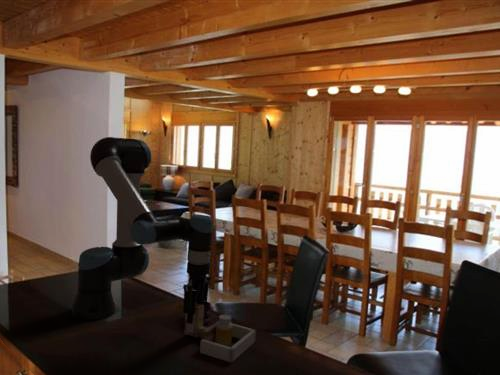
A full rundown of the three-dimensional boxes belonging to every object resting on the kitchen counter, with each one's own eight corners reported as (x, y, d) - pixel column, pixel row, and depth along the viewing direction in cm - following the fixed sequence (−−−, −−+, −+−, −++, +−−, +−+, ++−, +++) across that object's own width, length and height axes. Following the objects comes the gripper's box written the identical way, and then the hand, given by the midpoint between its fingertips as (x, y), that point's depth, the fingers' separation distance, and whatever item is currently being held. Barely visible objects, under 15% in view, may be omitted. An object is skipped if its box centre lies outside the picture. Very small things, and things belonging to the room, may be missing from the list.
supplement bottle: (212, 342, 143) (214, 314, 142) (227, 340, 146) (229, 313, 145) (217, 349, 138) (220, 320, 138) (233, 347, 141) (235, 319, 140)
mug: (201, 327, 155) (202, 308, 154) (180, 319, 160) (182, 301, 160) (213, 322, 160) (214, 304, 160) (193, 314, 166) (194, 297, 165)
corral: (199, 352, 136) (200, 340, 135) (226, 333, 151) (227, 322, 151) (231, 362, 131) (232, 350, 131) (255, 341, 147) (256, 330, 146)
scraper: (177, 338, 142) (178, 308, 141) (196, 326, 153) (198, 298, 152) (206, 347, 138) (208, 316, 137) (224, 333, 148) (226, 305, 148)
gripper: (194, 269, 135) (189, 341, 137) (220, 259, 150) (215, 324, 152) (174, 264, 138) (170, 335, 141) (202, 255, 153) (197, 319, 156)
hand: (193, 329), depth 146 cm, fingers closed on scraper, 3 cm apart
